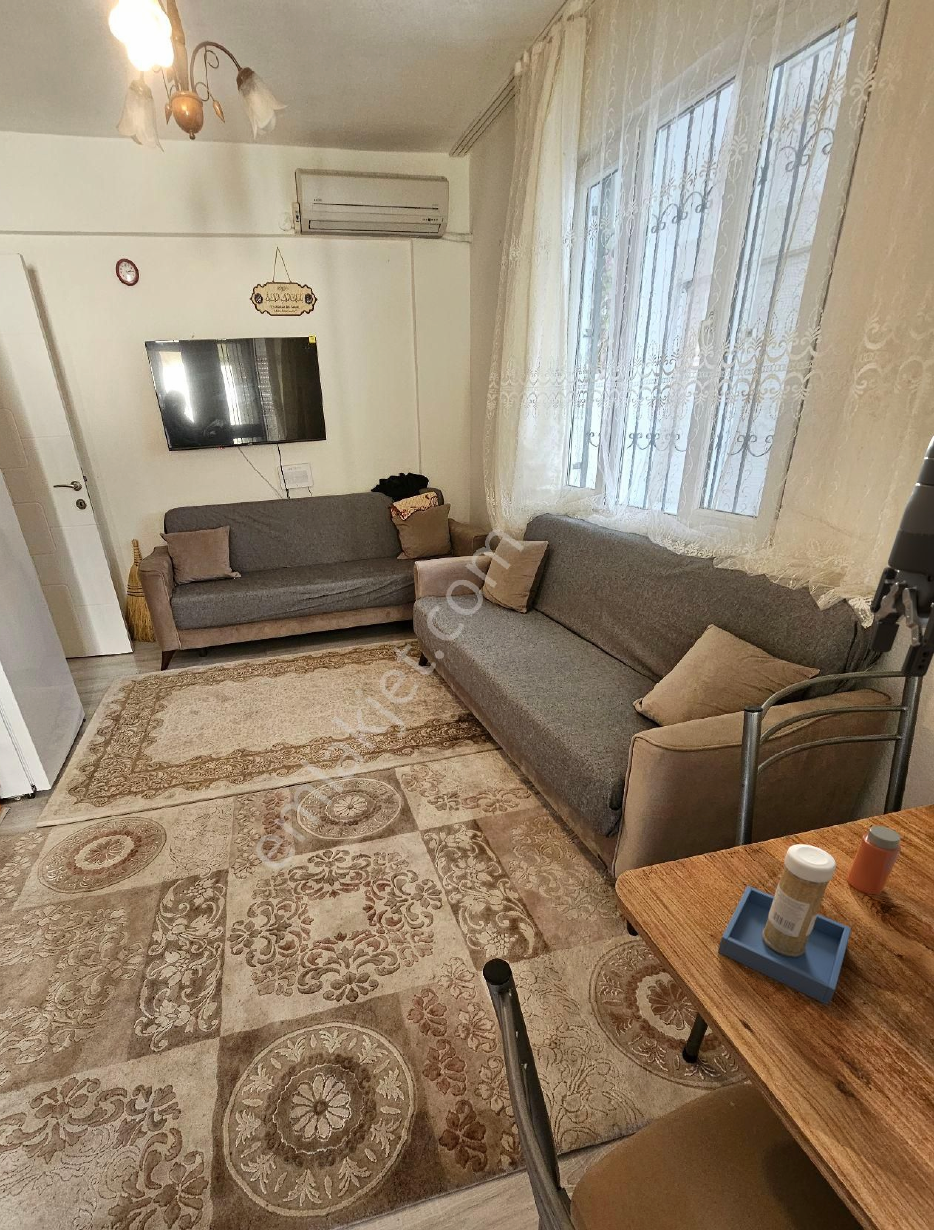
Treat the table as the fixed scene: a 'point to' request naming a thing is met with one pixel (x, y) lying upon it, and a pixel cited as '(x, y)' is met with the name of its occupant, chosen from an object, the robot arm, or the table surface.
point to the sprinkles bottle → (798, 899)
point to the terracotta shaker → (874, 860)
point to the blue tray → (801, 973)
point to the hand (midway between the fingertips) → (894, 662)
